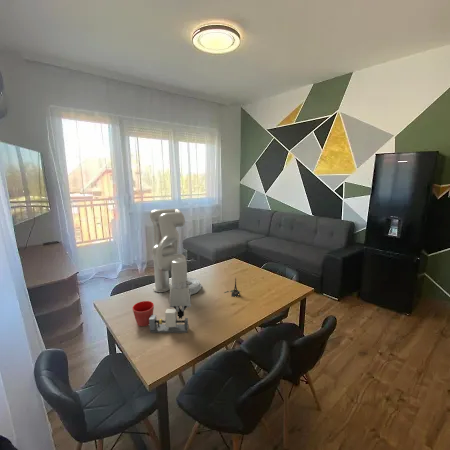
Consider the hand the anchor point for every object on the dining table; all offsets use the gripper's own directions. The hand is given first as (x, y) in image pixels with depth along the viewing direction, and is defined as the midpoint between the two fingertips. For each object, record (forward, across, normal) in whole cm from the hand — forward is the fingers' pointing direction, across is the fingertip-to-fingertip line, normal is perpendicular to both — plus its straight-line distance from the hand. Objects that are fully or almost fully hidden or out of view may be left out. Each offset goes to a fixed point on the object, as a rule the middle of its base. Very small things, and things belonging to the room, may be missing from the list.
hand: (180, 317), depth 125 cm
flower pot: (+7, +21, -6) cm, 23 cm away
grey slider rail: (+7, +6, 0) cm, 9 cm away
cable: (+7, +2, -43) cm, 44 cm away
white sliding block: (+4, +5, 0) cm, 6 cm away
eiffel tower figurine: (+8, -30, -37) cm, 48 cm away
